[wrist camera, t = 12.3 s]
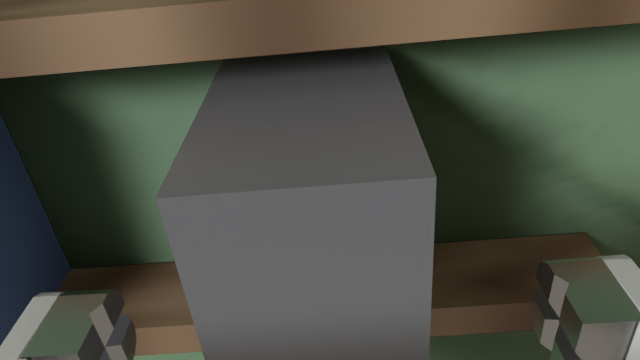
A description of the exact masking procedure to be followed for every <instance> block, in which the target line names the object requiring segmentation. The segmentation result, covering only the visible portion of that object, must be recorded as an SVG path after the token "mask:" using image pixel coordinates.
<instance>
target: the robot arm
mask: <svg viewBox="0 0 640 360" xmlns="http://www.w3.org/2000/svg"><path fill="white" fill-rule="evenodd" d="M536 278H537V280H538V282H539V284H540V287H539V288H538V289H537V290H536V291H535V292H534V293H533V294H532V301H531V316H532V323H533V326H534V330H535V333H536V335H537V337H538V340H539V342H540V343H541V344H542V345H543V346H545V347H546V348H547V349H549V350H550V351H552V353H551V357H550V360H640V269H639V268H638V266H637V265H636V264H635V263H634V261H633V260H632V259H631V258H630V257H628V256H626V255H625V254H622V255H609V256H597V257H588V258H574V259H560V260H547V261H541V262H540V264H539V265H538V268H537V273H536ZM124 304H125V302H124V300H123V298H122V296H121V294H120V291H118V290H114V289H105V290H81V291H65V292H45V293H40V294H38V295H36V296H34V297H33V298H32V300H31V301H30V303H29V304H28V306H27V307H26V309H25V310H24V312H23V313H22V315H21V316H20V317H19V319H18V320H17V322H16V323H15V325H14V326H13V328H12V329H11V331H10V332H9V334H8V335H7V337H6V338H5V340H4V341H3V343H2V344H1V346H0V360H133V358H134V355H135V350H136V340H137V338H136V331H135V327H134V324H133V322H132V319H131V318H129V317H128V316H126V315H125V314H124V313H122V312H121V311H122V309H123V306H124Z"/></svg>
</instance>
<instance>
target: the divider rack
mask: <svg viewBox="0 0 640 360" xmlns="http://www.w3.org/2000/svg"><path fill="white" fill-rule="evenodd" d="M633 23H640V0H0V78H12V77H23V76H35V75H46V74H58V73H69V72H81V71H92V70H104V69H115V68H127V67H138V66H150V65H161V64H173V63H184V62H196V61H207V60H219V59H230V58H242V57H253V56H265V55H276V54H288V53H299V52H311V51H322V50H334V49H345V48H357V47H368V46H380V45H391V44H403V43H414V42H426V41H437V40H449V39H460V38H472V37H483V36H495V35H507V34H518V33H530V32H541V31H553V30H564V29H576V28H587V27H599V26H610V25H622V24H633ZM597 256H602V254H601V253H600V252H599V250H598V249H597V248H596V246H595V245H594V244H593V242H592V241H591V240H590V238H589V237H588V236H587V234H586V233H574V234H560V235H546V236H532V237H518V238H504V239H490V240H476V241H462V242H448V243H434V253H433V278H432V302H431V326H430V337H436V336H452V335H467V334H483V333H499V332H514V331H530V330H534V326H533V323H532V316H531V301H532V294H533V293H534V292H535V291H536V290H537V289H538V288H539V287H540V284H539V282H538V280H537V278H536V273H537V268H538V265H539V264H540V262H541V261H547V260H560V259H574V258H588V257H597ZM105 289H114V290H118V291H120V294H121V296H122V298H123V300H124V302H125V304H124V306H123V309H122V311H121V312H122V313H124V314H125V315H126V316H128V317H129V318H131V319H132V322H133V324H134V327H135V331H136V338H137V340H136V350H135V355H134V356H138V355H154V354H170V353H185V352H201V351H202V348H201V345H200V342H199V339H198V335H197V332H196V329H195V326H194V322H193V319H192V316H191V313H190V309H189V306H188V303H187V300H186V296H185V293H184V290H183V287H182V283H181V280H180V277H179V274H178V271H177V267H176V264H175V262H166V263H152V264H138V265H124V266H110V267H96V268H82V269H71V268H70V266H69V263H68V261H67V259H66V257H65V255H64V252H63V250H62V248H61V246H60V244H59V241H58V239H57V237H56V235H55V232H54V230H53V228H52V226H51V224H50V221H49V219H48V217H47V215H46V213H45V210H44V208H43V206H42V204H41V202H40V199H39V197H38V195H37V193H36V191H35V188H34V186H33V184H32V182H31V180H30V177H29V175H28V173H27V171H26V169H25V166H24V164H23V162H22V160H21V157H20V155H19V153H18V151H17V149H16V146H15V144H14V142H13V140H12V138H11V135H10V133H9V131H8V129H7V127H6V124H5V122H4V120H3V118H2V116H1V113H0V346H1V344H2V343H3V341H4V340H5V338H6V337H7V335H8V334H9V332H10V331H11V329H12V328H13V326H14V325H15V323H16V322H17V320H18V319H19V317H20V316H21V315H22V313H23V312H24V310H25V309H26V307H27V306H28V304H29V303H30V301H31V300H32V298H33V297H34V296H36V295H38V294H40V293H45V292H65V291H81V290H105Z"/></svg>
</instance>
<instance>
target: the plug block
mask: <svg viewBox="0 0 640 360" xmlns="http://www.w3.org/2000/svg"><path fill="white" fill-rule="evenodd" d="M436 181H437V177H436V174H435V172H434V169H433V167H432V164H431V162H430V159H429V156H428V154H427V151H426V149H425V146H424V144H423V141H422V138H421V136H420V133H419V131H418V128H417V126H416V123H415V121H414V118H413V115H412V113H411V110H410V108H409V105H408V103H407V100H406V98H405V95H404V92H403V90H402V87H401V85H400V82H399V80H398V77H397V75H396V72H395V69H394V67H393V64H392V62H391V59H390V57H389V54H388V52H387V49H386V46H378V47H367V48H355V49H343V50H332V51H320V52H309V53H297V54H286V55H274V56H263V57H251V58H240V59H228V60H223V62H222V64H221V66H220V68H219V70H218V72H217V74H216V76H215V78H214V80H213V82H212V84H211V86H210V89H209V91H208V93H207V95H206V97H205V99H204V101H203V103H202V105H201V107H200V109H199V111H198V113H197V115H196V117H195V119H194V121H193V123H192V125H191V127H190V129H189V131H188V133H187V135H186V137H185V139H184V141H183V143H182V145H181V147H180V149H179V151H178V153H177V155H176V157H175V159H174V161H173V164H172V166H171V168H170V170H169V172H168V174H167V176H166V178H165V180H164V182H163V184H162V186H161V188H160V190H159V192H158V194H157V196H156V198H155V199H156V203H157V206H158V209H159V212H160V216H161V219H162V222H163V225H164V228H165V232H166V235H167V238H168V241H169V245H170V248H171V251H172V254H173V258H174V261H175V264H176V267H177V271H178V274H179V277H180V280H181V283H182V287H183V290H184V293H185V296H186V300H187V303H188V306H189V309H190V313H191V316H192V319H193V322H194V326H195V329H196V332H197V335H198V339H199V342H200V345H201V348H202V351H203V355H204V358H205V360H429V350H430V326H431V302H432V278H433V253H434V229H435V205H436Z"/></svg>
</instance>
